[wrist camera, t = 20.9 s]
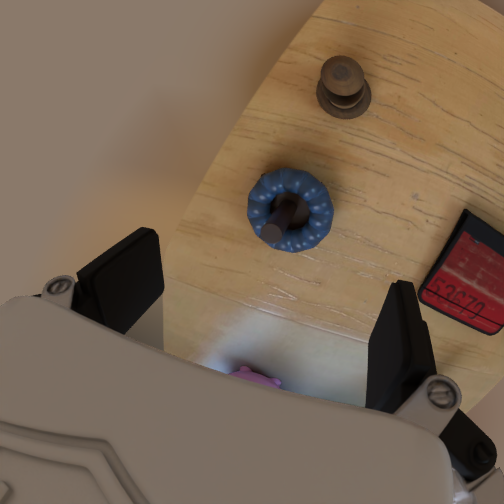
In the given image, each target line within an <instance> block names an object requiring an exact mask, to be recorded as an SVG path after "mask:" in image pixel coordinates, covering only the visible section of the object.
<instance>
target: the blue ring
mask: <svg viewBox="0 0 504 504" xmlns="http://www.w3.org/2000/svg"><path fill="white" fill-rule="evenodd" d="M284 192H290V193H296V194H298V195H299V196H301V197H302V198H303V199H304V200H305V201H306V202H307V205H308V207H309V210H310V214H309V220H308V221H307V223H306V224H305V225H304V226H303V227H301V228H298V229H295V230H290V229H286V231H285V233H284V235H283V237H282V238H281V240H280V241H279V242H278V243H276V244H269V243H267V242H265V241H264V240H263V239H262V237H261V234H260V231H261V228H262V226H263V225H264V224H265V222H266V221H267V220H268V219H269V217H270V216H271V213H270V207H271V202H272V200H273V199H274V198H275V197H276V195H278V194H281V193H284ZM333 214H334V207H333V204H332V201H331V198H330V196H329V193H328V190H327V188H326V187H325V185H323V184H322V183H321V182H320V181H319V180H317V179H316V178H315V177H314V176H312V175H311V174H310V173H309V172H307V171H303V170H297V169H291V168H280V169H278V170H275V171H272V172H270V173H267V174H265V175H263V176H262V177H261V178H260V179H259V180H258V182H257V183H256V184H255V186H254V187H253V188H252V190H251V191H250V193H249V196H248V208H247V216H248V219H249V221H250V223H251V225H252V228H253V230H254V232H255V234H256V235H257V236H258V237H259V238H260V239H261V240H263V241H264V242H265V243H267V244H268V245H269V246H270V247H272V248H274V249H277V250H282V251H286V252H291V253H296V252H300V251H304V250H307V249H311V248H314V247H315V246H317V245H318V244H319V242H320V241H321V240H322V239H323V238H324V237H325V236H326V235H327V234H328V233H329V231H330V229H331V224H332V219H333Z"/></svg>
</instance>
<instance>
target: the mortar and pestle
mask: <svg viewBox="0 0 504 504" xmlns="http://www.w3.org/2000/svg"><path fill="white" fill-rule="evenodd" d="M316 95H317V99H318V102H319V104H320V106H321V107H322V108H323V109H324V110H325V111H326V112H327V113H328V114H330V115H331V116H333V117H336V118H340V119H353V118H356V117H358V116H360V115H362V114H363V113H364V112H365V111H366V110H367V108H368V107H369V105H370V102H371V90H370V87H369V84H368V83H367V81H366V80H365V79H364V72H363V70H362V68H361V66H360V65H359V64H358V63H357V62H356V61H355V60H353V59H352V58H349V57H347V56H334V57H331V58H330V59H328V60H327V61H326V62H325V63H324V65H323V67H322V69H321V79H320V80H319V82H318V85H317V89H316Z"/></svg>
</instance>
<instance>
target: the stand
mask: <svg viewBox="0 0 504 504" xmlns="http://www.w3.org/2000/svg"><path fill="white" fill-rule="evenodd" d="M263 175H265V173H264V174H262V175H261V177H262V176H263ZM321 183H322V182H321ZM270 213H271V216H270V217H269V219H268V220H267V221H266V222H265V224H264V225H263V226H262V228H261V231H260V234H261V237H262V239H263V240H264V241H265V242H267V243H269V244H276V243H278V242H279V241H280V240H281V238H282V237H283V235H284V233H285V231H286V229H290V230H295V229H298V228H301V227H303V226H304V225H305V224H306V223H307V221H308V220H309V214H310V210H309V207H308V205H307V202H306V201H305V200H304V199H303V198H302V197H301V196H299V195H298V194H296V193H290V192H284V193H281V194H278V195H276V197H275V198H274V199H273V200H272V202H271V207H270Z"/></svg>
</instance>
